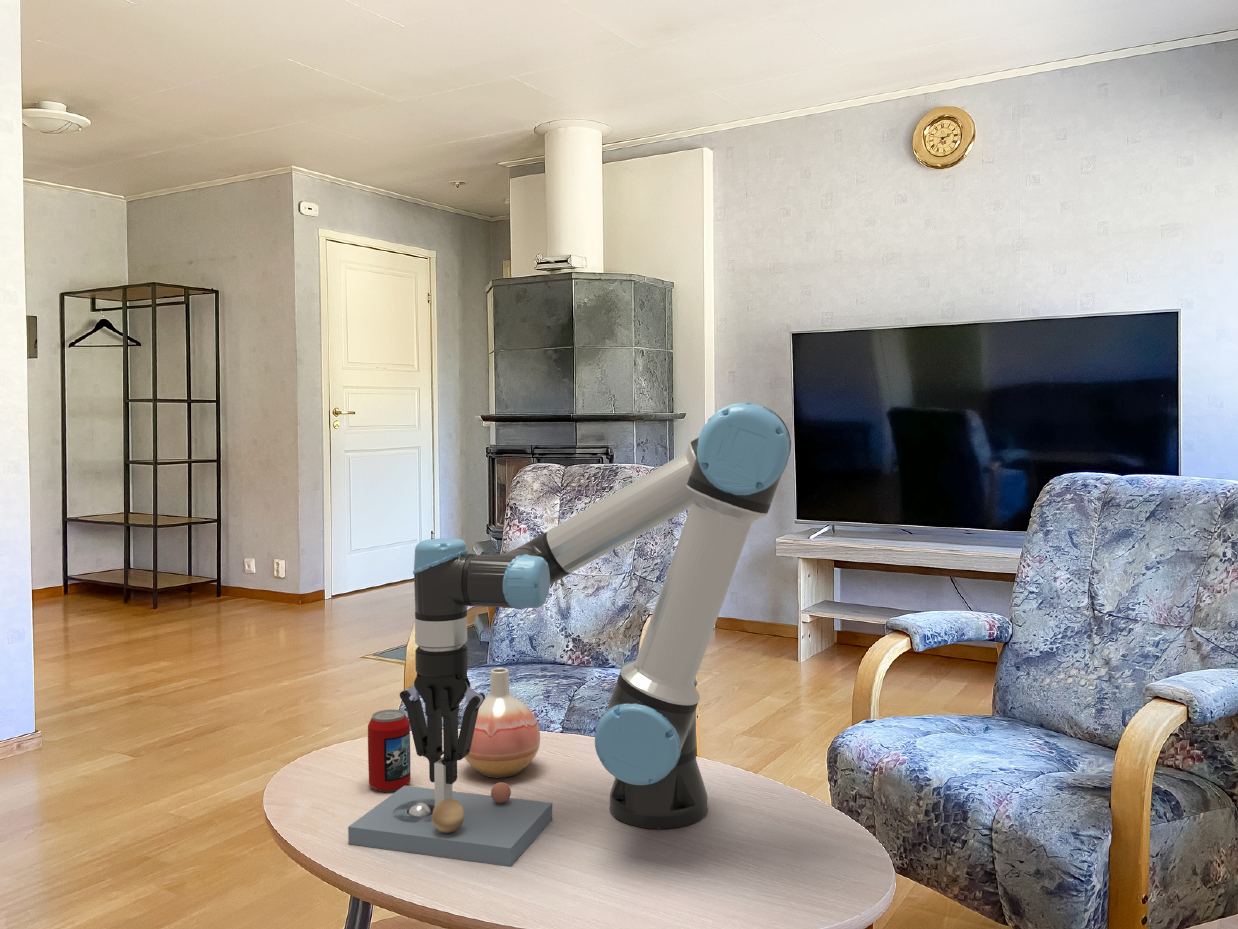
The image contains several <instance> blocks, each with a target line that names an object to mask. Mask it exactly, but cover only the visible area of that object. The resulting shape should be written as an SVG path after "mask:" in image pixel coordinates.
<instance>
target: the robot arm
mask: <svg viewBox="0 0 1238 929" xmlns="http://www.w3.org/2000/svg"><path fill="white" fill-rule="evenodd" d="M791 439H792V438H791V434H790V431H789V429H788V427H787V425H786V423H785V421H784V420H783V419H782V417H780V416H779V414H777V413H776V412H775V411H773V410H772V409H770V408H768V407H765V406H762V405H760V404H755V403H751V402H739V403H738V402H736V403H733V404H729V405H726V406H724V407H722V408H720V410H717V411H716V412H714V413H713V415H712V416H711V417H710V418H708V420H707V422H706V423H705V424H704V426H703V427H702V428H701V431H700V433H699V436H698V437H697V438H695V439H693V440H692V441H690V442H689V443H688V446H687V449H686V452H683V453H682V454H680V455H679V456H677V457H675V458H673V459H672V460H670V461H668V462H666V463H665V464H663V465H661V466H660V467H657V468H656V469H654V470H652V471H650V472H649V473H647V474H646V475H643V476H642V477H640V478H638V479H636V480H634V481H633V482H631V483H629V484H627V485H626V486H625V487H623V488H621V489H618V490H617V491H615V492H614V493H612V494H609V495H608V496H606V497H605V498H604V499H600V501H598V502H596V503H595V504H593V505H591V506H589V507H587V508H585V509H584V510H582V511H581V512H579V513H577V514H575V515H573V516H572V517H570V518H567V519H566V520H565V521H563V522H561V523H559V524H558V525H556V526H554V527H552V528H551V529H549V530H547V531H546V532H544V533H542V534H540V535H538V536H537V537H534V538H533V539H530V540H529V541H527V542H526V543H524V544H522V545H520V546H519V547H516V548H514V549H512V550H509V551H508V552H505V553H503V554H475V553H469V552H468V549H467V543H466V542H465V541H464V540H463V539H460V538H447V537H446V538H445V537H444V538H442V537H441V538H430V539H424V540H422V541H419V542H418V543H417V544H416V545H415V547H414V561H413V563H414V564H413V565H414V566H413V571H412V574H413V584H414V585H413V586H414V587H413V588H414V589H413V590H414V607H415V609H414V644H415V645H416V646H417V647H416V649H415V653H414V654H415V660H414V662H415V672H416V677H415V678H414V681H413V685H412V686H410V687H408V688H406V689H404V690H402V691H401V692H399V697H400V699H401V701H402V703H403V704H404V706H405V708H406V713H407V719H408V720H409V722H410V732H411V735H412V738H413V743H414V744H413V745H414V748H415V752H416V755H417V756H419V757H424V758H426V759H427V760H428V763H429V764H428V767H429V768H428V769H429V770H428V771H429V775H428V776H429V780H430V781H429V782H431V783H434V789H435V806H436V805H437V804H438V803H439V802H440V801H442V800H445V799H452V791H453V784H454V783H455V782H457V780H458V761H461V760H463V759H465V758H464V757H465V756H467V755H468V754H469V752H470V748H471V743H472V738H473V734H474V729H475V725H476V720H477V715H478V711H479V708H480V706H481V704H482V703H483V701H484V700H485V698H486V695H485V693H484V692H479V693H478V692H477V691H476V690H474V689H473V688H471V681H470V680H469V677H468V669H469V660H468V659H469V655H468V653H469V652H468V650H469V649H468V646H467V645H466V643H467V641H468V607H483V608H487V607H488V608H501V609H503V608H504V609H505V608H506V609H516V610H523V609H537V608H542V606H544V605H545V603H546V602H547V598H548V597H549V594H550V593H549V592H550V587H551V585H553V584H554V583H557V582H558V581H560V580H561V579H564V578H565V577H567V576H569V575H570V574H572V573H574V572H576V571H577V570H579V569H581V568H583V567H585V566H586V565H588V564H590V563H592V562H594V561H595V560H598V559H599V558H601V557H603V556H604V555H607V554H608V553H610V552H612V551H614V550H615V549H617V548H619V547H621V546H624V545H625V544H626V543H629V542H630V541H631V540H634V539H635V538H638V537H639V536H641V535H643V534H645V533H646V532H648V531H650V530H652V529H654V528H655V527H657V526H659V525H661V524H663V523H665V522H667V521H668V520H669V519H672V518H673V517H675V516H677V515H679V514H681V513H683V512H685V511H686V510H689V511H688V513H687V516H686V519H685V521H684V525H683V528H682V530H681V533H680V534H679V538H678V540H677V544H676V546H675V550H674V552H673V555H672V558H671V561H670V564H669V567H668V570H667V572H666V574H665V578H664V580H663V583H662V585H661V589H660V591H659V592H660V593H659V594H658V598H657V601H656V603H655V606H654V609H653V611H652V614H651V617H650V620H649V623H648V625H647V629H646V630H645V634H644V637H643V639H642V643H641V645H640V648H639V650H638V654H637V656H636V659H633V660H628V661H625V662H624V663H622V665H621V667H620V671H619V675H618V678H617V680H616V683H615V686H614V688H613V691H612V694H611V697H610V699H609V702H608V705H607V708H606V711H605V712H603V714H602V715H601V717H600V718H599V719H598V721H597V724H596V726H595V734H594V747H595V748H594V749H595V752H596V754H597V757H598V759H599V761H600V762H601V764H602V766H603V768H604V769H605V770H606V771H607V772H608V773H609V774H610V775H612V776H613V777H614V780H613V783H612V787H611V789H610V792H609V811H610V813H611V814H612V816H613V817H614V818H616V819H617V820H619V821H620V822H623V823H625V824H628V825H632V826H635V827H640V828H645V829H674V828H675V829H676V828H680V827H685V826H684V825H686V826H688V825H692V824H694V822H695V823H697V822H699V821H700V820H702V819H703V818H704V817H705V816H706V815H707V813H708V811H709V810H708V808H709V807H708V804H709V802H708V798H709V797H708V792H707V788H706V786H705V783H704V780H703V777H702V774H701V770H700V767H699V765H698V762H697V707H698V705H699V702H700V700H701V697H700V694H699V693H700V692H698V690H697V688H696V687H697V686H698V681H697V675H698V672H699V670H700V667H701V664H702V662H703V658H704V656H705V654H706V650H707V647H708V645H709V642H710V639H711V636H712V634H713V632H714V628H715V626H716V623H717V620H718V617H719V616H720V612H721V609H722V606H723V604H724V602H725V601H724V600H725V598H726V596H727V592H728V590H729V587H730V584H731V582H732V579H733V576H734V573H735V571H736V568H737V566H738V562H739V560H740V558H741V554H742V552H743V549H744V546H745V543H746V541H747V537H748V535H749V533H750V530H751V527H752V525H753V523H754V522H756V521H758V520H759V519H761V518H764V517H766V516H768V513H769V511H770V508H771V505H772V503H773V500H774V497H775V494H776V492H777V489H778V486H779V483H780V480H781V478H782V476H783V474H784V472H785V470H786V468H787V465H788V462H789V458H790V455H791V450H792V440H791ZM464 698H465V702H464V704H465V706H466V707H465V708H464V712H463V716H462V720H461V725H460V729H459V712H460V703H461V702H462V701H463V699H464ZM421 700H422V701H423V703H424V704H425V705H424V708H423V704H422V701H421ZM424 709H425V710H424ZM424 711H425V712H424ZM425 716H426V717H425ZM696 821H697V822H696Z"/></svg>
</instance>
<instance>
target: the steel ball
mask: <svg viewBox="0 0 1238 929" xmlns="http://www.w3.org/2000/svg"><path fill="white" fill-rule="evenodd" d="M408 815H410V816H414V817H425V816H430V815H432V813H431V809H430V808H429V806H428V805H426V804H424V803H417V804H414V805H413V806H412V807H411V808H410V809H409V811H408Z"/></svg>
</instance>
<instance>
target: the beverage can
mask: <svg viewBox="0 0 1238 929" xmlns="http://www.w3.org/2000/svg"><path fill="white" fill-rule="evenodd" d="M367 756H368V759H367V762H368V768H367V769H368V785H369V786H370V787H371V788H373V789H375V790H377V791H378V790H379V792H384V791H385V793H387V792H396V791H398V790H399V789H400V788H402V787H403V786H408V784H409V783H410V782H411V778H412V777H411V727H410V722H409V718H408V716H407V715H406V712H405V711H404V710H401V709H383V710H379V711H376V712H374V713H373V714H371V718H370V720H369V722H368V725H367Z"/></svg>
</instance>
